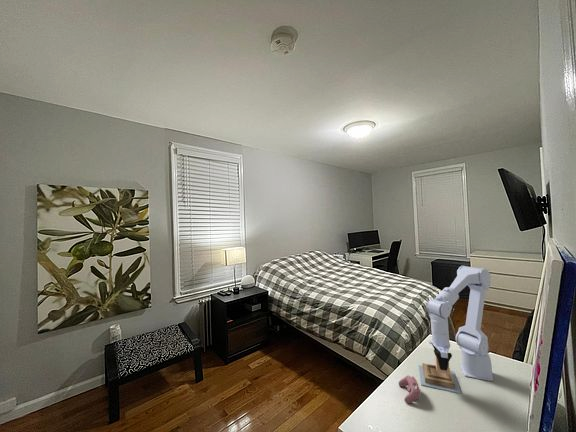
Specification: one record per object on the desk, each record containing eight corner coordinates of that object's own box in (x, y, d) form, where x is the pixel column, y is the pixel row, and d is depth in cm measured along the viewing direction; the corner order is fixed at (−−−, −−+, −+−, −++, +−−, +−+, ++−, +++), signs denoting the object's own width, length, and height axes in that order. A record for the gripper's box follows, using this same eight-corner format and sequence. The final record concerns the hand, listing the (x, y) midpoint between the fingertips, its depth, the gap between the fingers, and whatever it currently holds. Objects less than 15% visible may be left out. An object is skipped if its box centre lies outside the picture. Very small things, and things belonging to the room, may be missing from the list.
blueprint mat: (453, 372, 100) (453, 371, 100) (461, 393, 88) (460, 392, 88) (418, 365, 105) (418, 365, 105) (421, 385, 93) (421, 384, 93)
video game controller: (416, 409, 84) (425, 392, 84) (404, 402, 85) (412, 386, 84) (408, 389, 94) (415, 374, 93) (397, 383, 95) (404, 368, 94)
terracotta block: (447, 367, 93) (446, 352, 93) (449, 374, 89) (448, 358, 89) (435, 365, 94) (434, 350, 94) (437, 372, 91) (436, 356, 91)
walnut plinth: (449, 372, 99) (449, 366, 99) (455, 389, 90) (454, 381, 90) (422, 367, 103) (422, 361, 103) (425, 382, 94) (424, 375, 94)
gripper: (425, 321, 100) (428, 353, 100) (430, 338, 87) (433, 375, 87) (445, 324, 97) (447, 356, 97) (453, 341, 84) (456, 379, 84)
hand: (442, 366), depth 92 cm, fingers closed on terracotta block, 4 cm apart
